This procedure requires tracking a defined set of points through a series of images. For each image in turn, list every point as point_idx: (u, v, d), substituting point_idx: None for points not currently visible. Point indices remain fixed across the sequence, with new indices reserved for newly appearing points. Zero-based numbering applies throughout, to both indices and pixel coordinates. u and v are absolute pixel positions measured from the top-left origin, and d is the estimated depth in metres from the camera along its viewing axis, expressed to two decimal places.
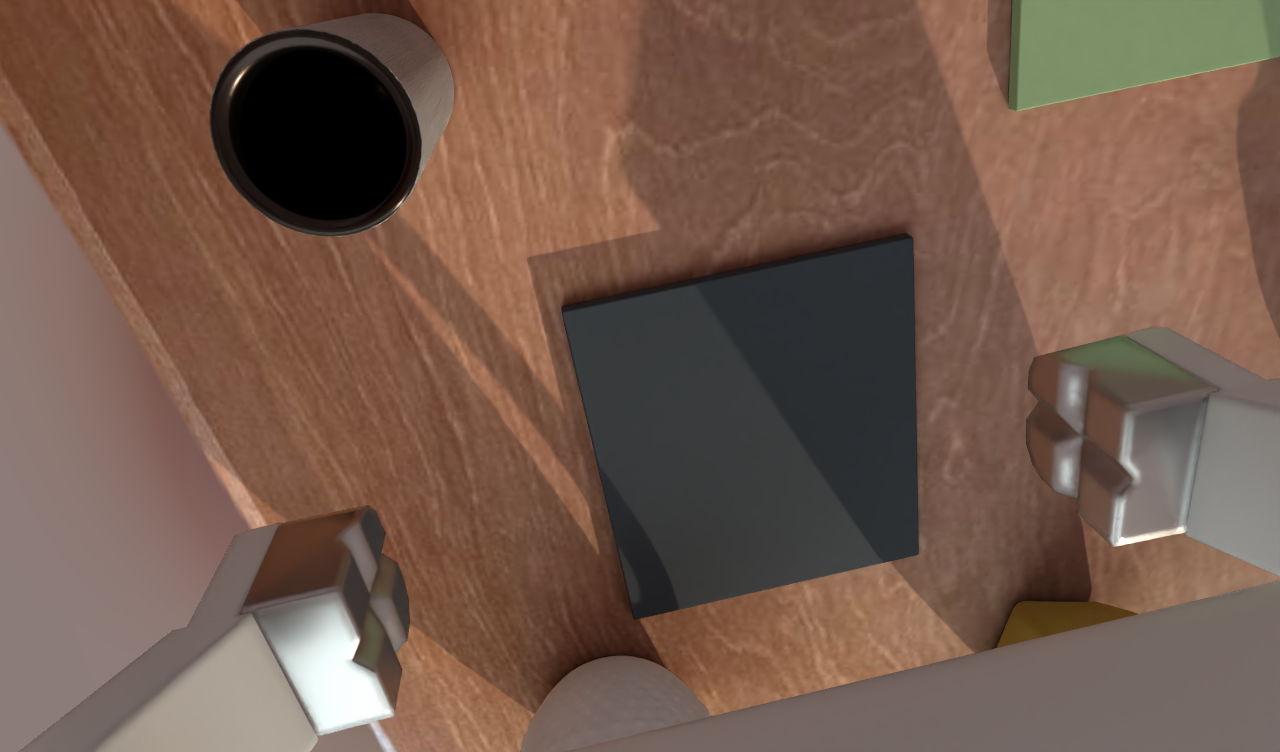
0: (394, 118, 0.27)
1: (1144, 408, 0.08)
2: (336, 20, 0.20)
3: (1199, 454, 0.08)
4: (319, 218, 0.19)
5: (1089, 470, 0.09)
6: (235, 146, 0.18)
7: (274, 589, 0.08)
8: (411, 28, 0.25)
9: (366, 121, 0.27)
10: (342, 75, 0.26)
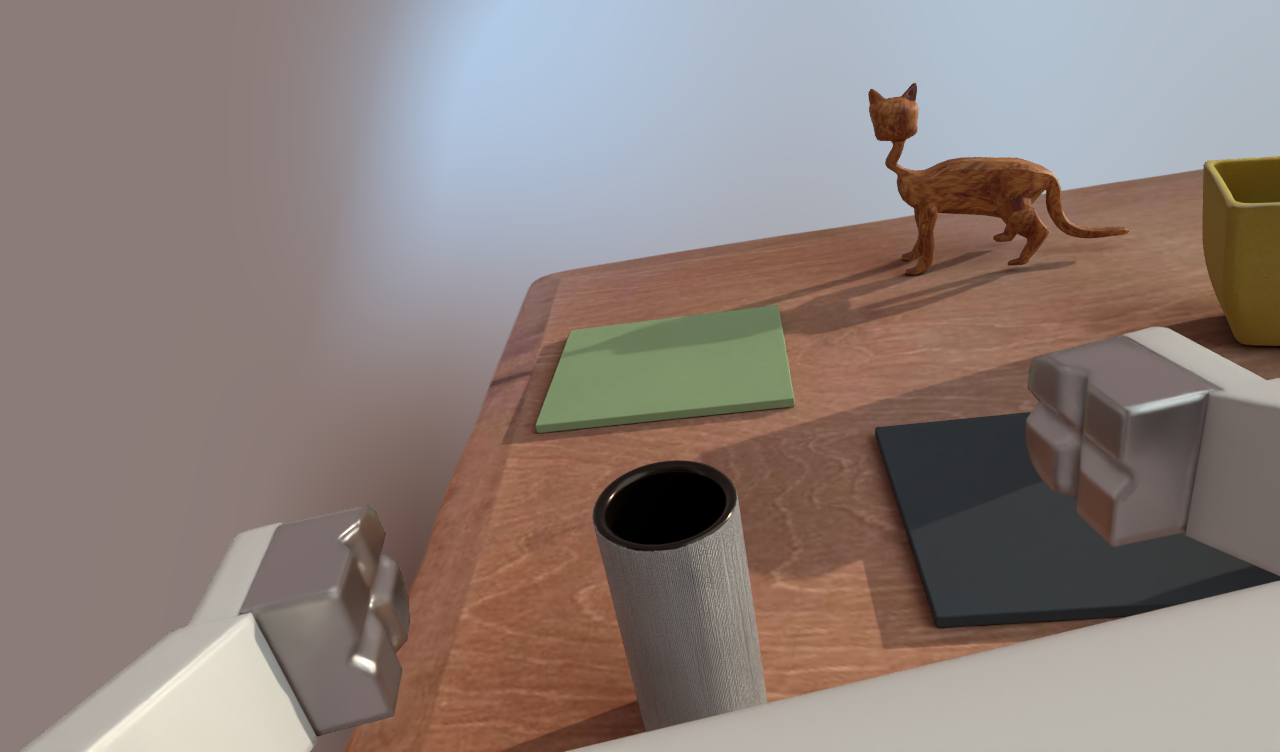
0: None
1: (1144, 408, 0.08)
2: None
3: (1198, 454, 0.08)
4: (720, 513, 0.24)
5: (1089, 470, 0.09)
6: None
7: (274, 590, 0.08)
8: None
9: None
10: None
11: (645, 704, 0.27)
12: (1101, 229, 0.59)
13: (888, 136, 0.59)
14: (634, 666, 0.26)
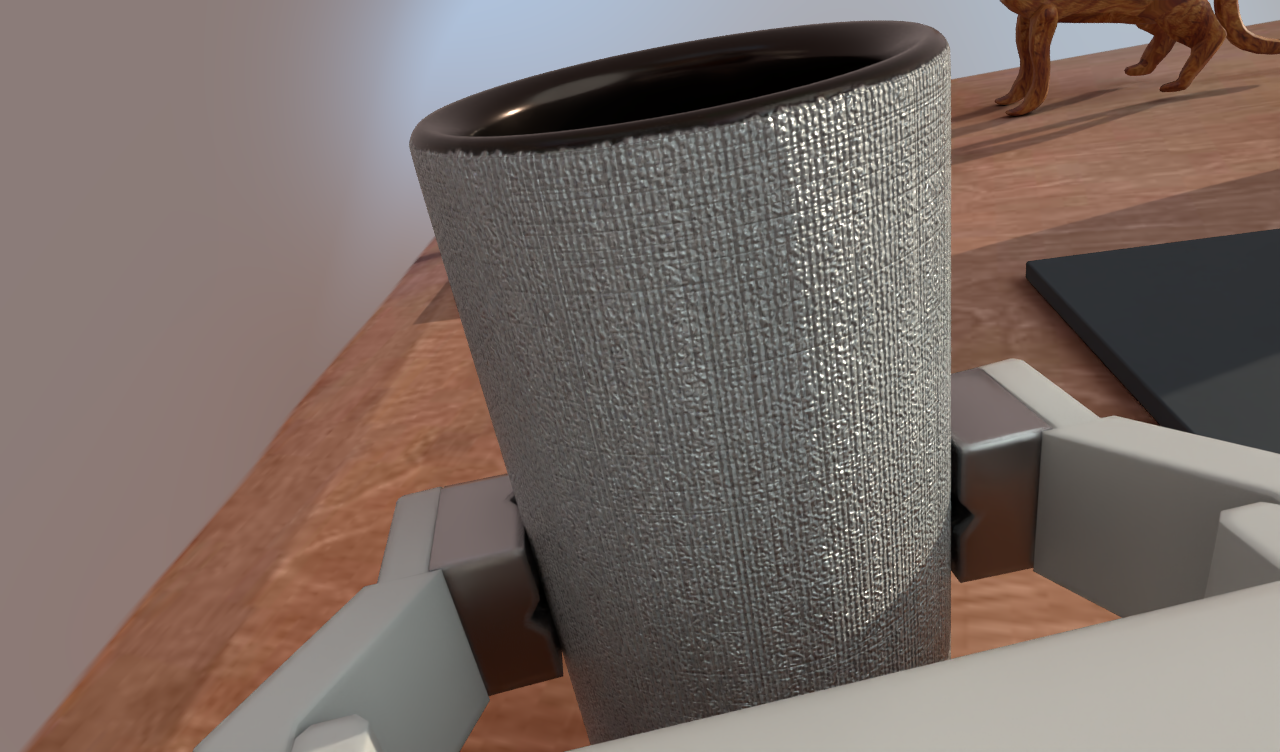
0: None
1: (979, 446, 0.08)
2: None
3: (1039, 491, 0.08)
4: None
5: None
6: None
7: (458, 548, 0.08)
8: None
9: None
10: None
11: None
12: None
13: None
14: (577, 669, 0.08)
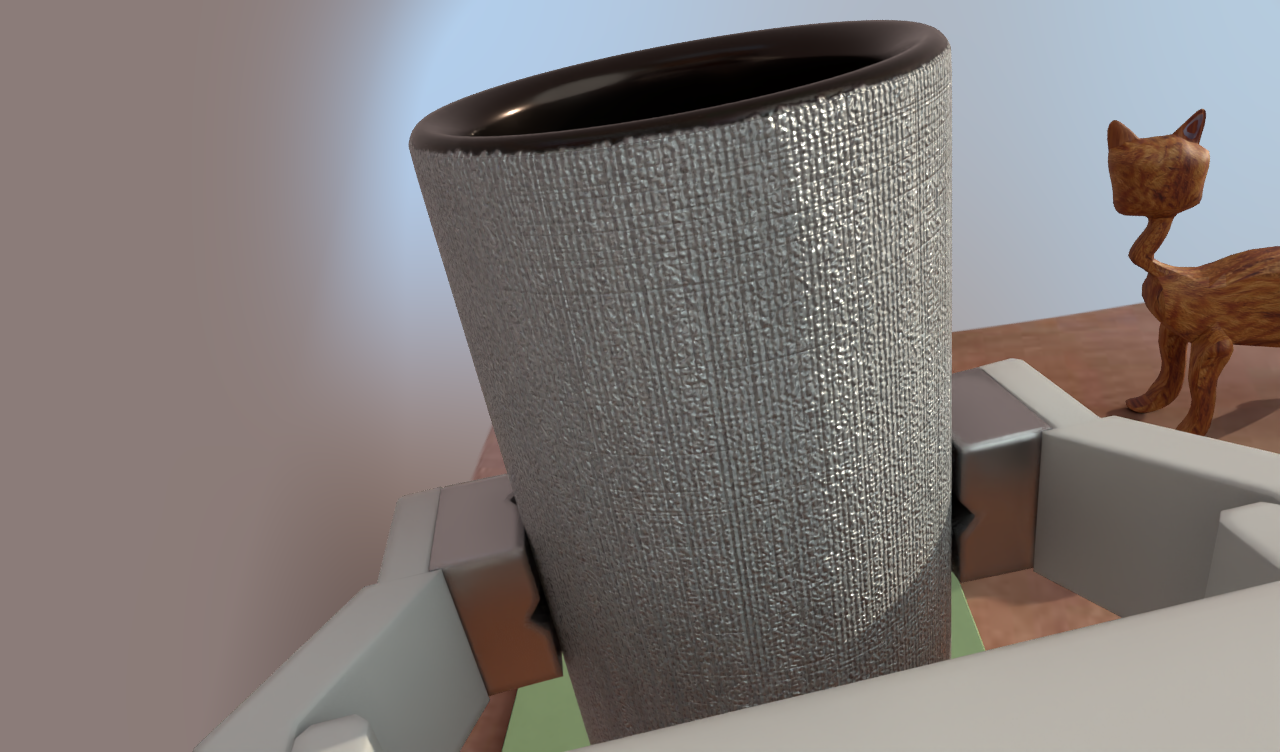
0: None
1: (979, 446, 0.08)
2: None
3: (1039, 492, 0.08)
4: None
5: None
6: None
7: (457, 548, 0.08)
8: None
9: None
10: None
11: None
12: None
13: (1150, 209, 0.31)
14: (576, 670, 0.08)
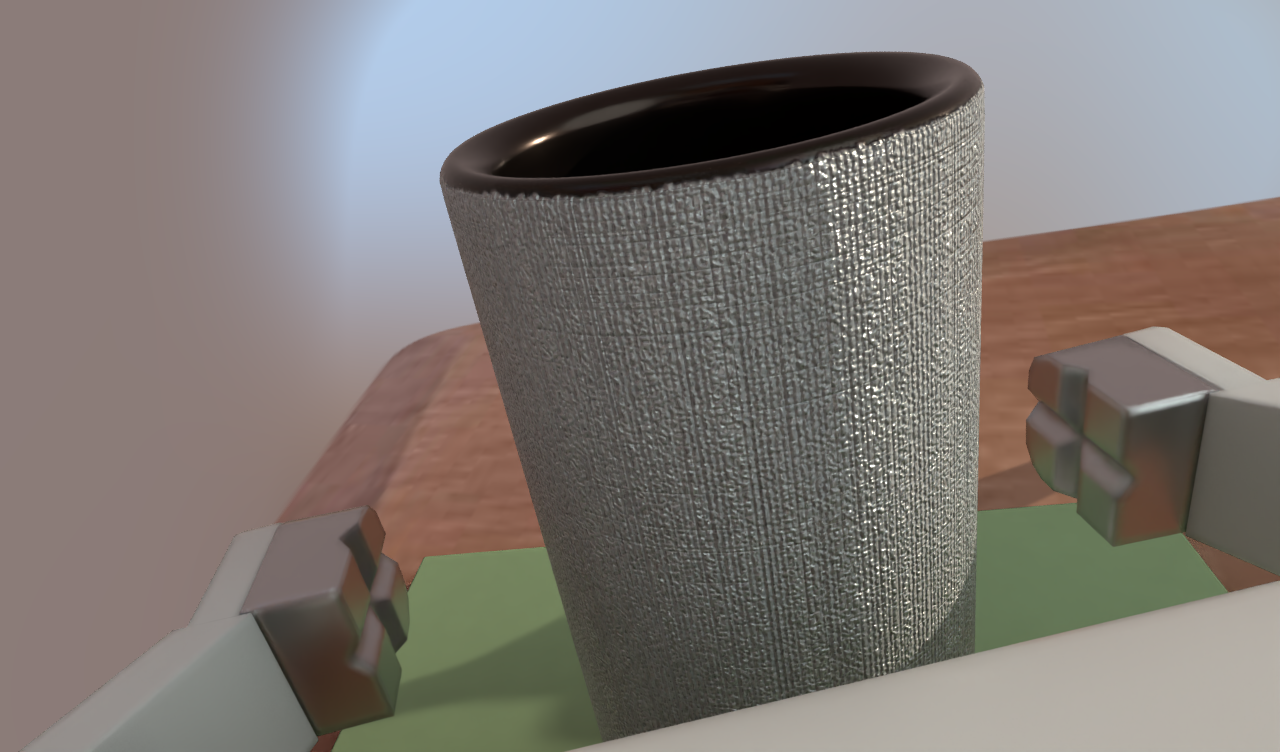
0: None
1: (1144, 408, 0.08)
2: None
3: (1198, 454, 0.08)
4: None
5: (1089, 470, 0.09)
6: None
7: (274, 589, 0.08)
8: None
9: None
10: None
11: None
12: None
13: None
14: (600, 698, 0.08)
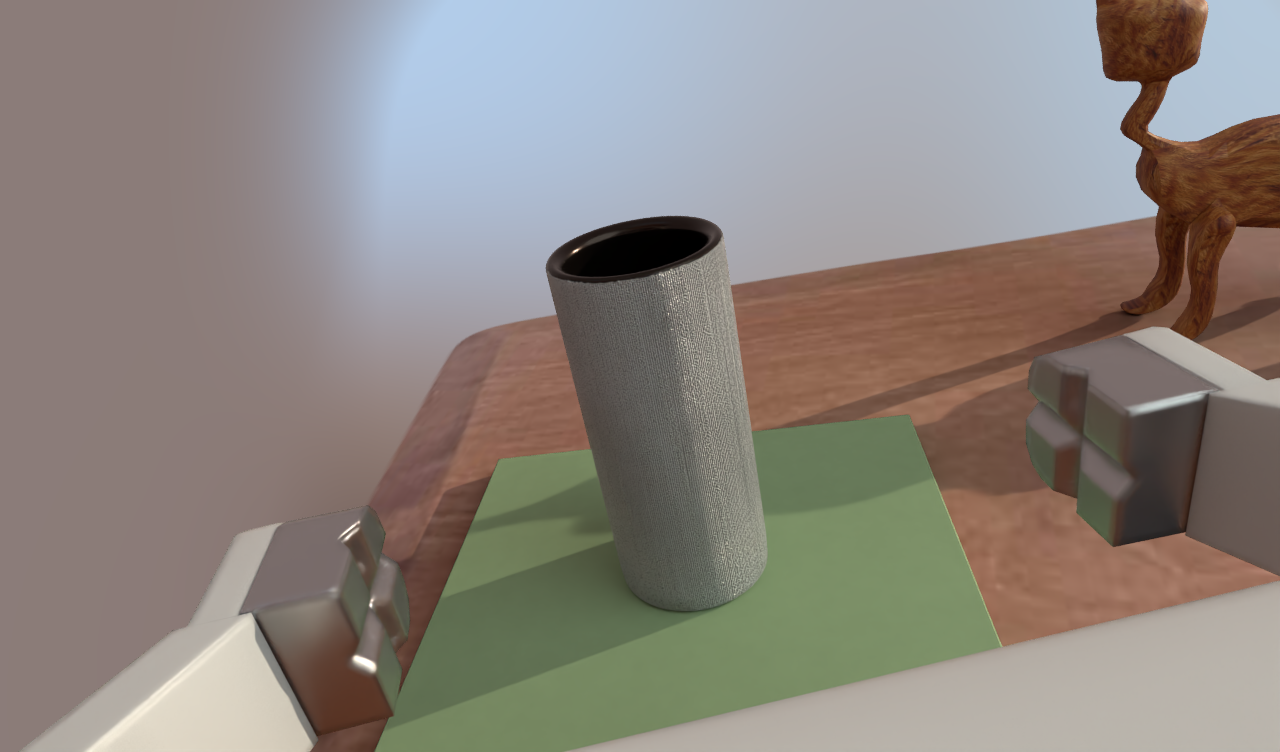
0: None
1: (1144, 408, 0.08)
2: None
3: (1199, 454, 0.08)
4: None
5: (1089, 470, 0.09)
6: None
7: (274, 589, 0.08)
8: None
9: None
10: None
11: (616, 516, 0.22)
12: None
13: (1142, 69, 0.28)
14: (601, 464, 0.22)
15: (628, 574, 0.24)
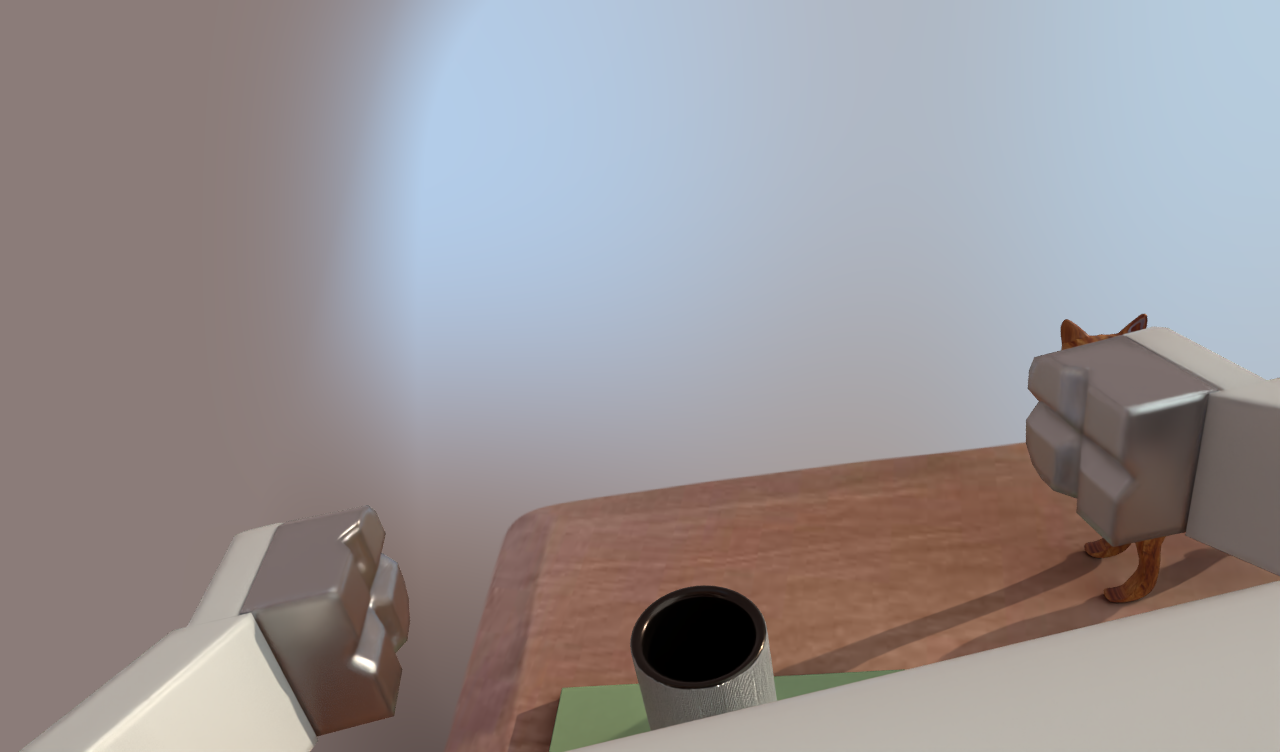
0: None
1: (1144, 408, 0.08)
2: None
3: (1199, 454, 0.08)
4: (751, 647, 0.26)
5: (1089, 470, 0.09)
6: None
7: (273, 589, 0.08)
8: None
9: None
10: None
11: None
12: None
13: None
14: None
15: None
